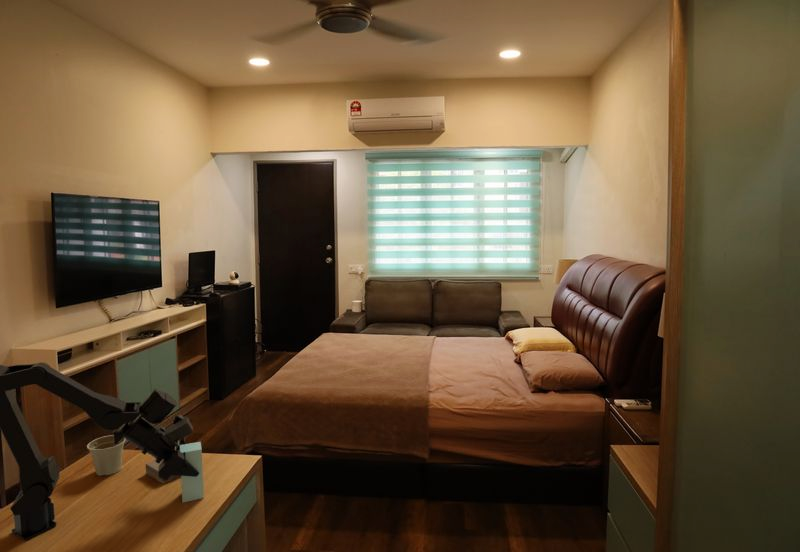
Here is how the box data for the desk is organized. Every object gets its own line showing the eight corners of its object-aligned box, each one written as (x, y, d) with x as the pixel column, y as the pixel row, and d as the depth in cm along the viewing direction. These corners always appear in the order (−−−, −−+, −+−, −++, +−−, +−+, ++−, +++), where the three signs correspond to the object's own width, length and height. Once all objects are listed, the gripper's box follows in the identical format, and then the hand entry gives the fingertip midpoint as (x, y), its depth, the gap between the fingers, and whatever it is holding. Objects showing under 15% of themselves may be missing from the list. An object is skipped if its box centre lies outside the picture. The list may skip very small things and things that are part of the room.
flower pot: (109, 481, 133) (107, 451, 132) (80, 477, 135) (78, 447, 134) (135, 464, 142) (133, 436, 141) (107, 461, 144) (105, 433, 143)
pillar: (182, 502, 123) (180, 453, 121) (182, 493, 127) (179, 445, 126) (203, 498, 125) (201, 449, 123) (202, 488, 129) (200, 441, 128)
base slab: (162, 483, 132) (162, 473, 131) (146, 473, 137) (145, 463, 137) (193, 470, 139) (193, 460, 139) (176, 461, 144) (176, 451, 144)
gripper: (171, 424, 113) (223, 460, 119) (171, 399, 130) (217, 431, 136) (135, 463, 111) (190, 498, 117) (140, 432, 128) (187, 464, 133)
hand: (197, 470), depth 126 cm, fingers closed on pillar, 5 cm apart
